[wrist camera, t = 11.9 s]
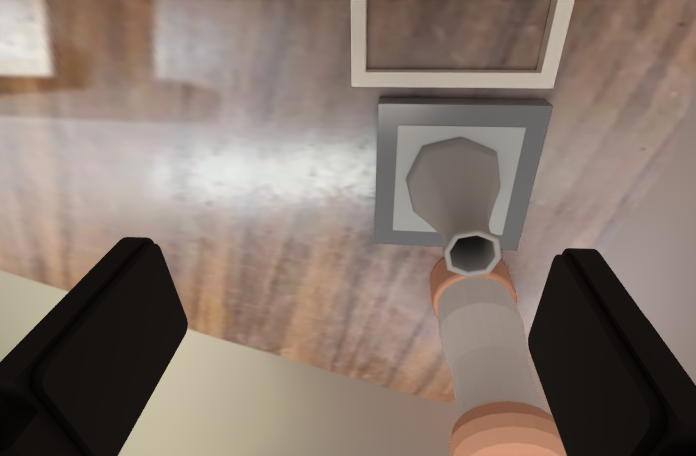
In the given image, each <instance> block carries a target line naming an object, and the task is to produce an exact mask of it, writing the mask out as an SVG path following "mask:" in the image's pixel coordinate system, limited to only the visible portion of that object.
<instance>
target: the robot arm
mask: <svg viewBox="0 0 696 456" xmlns="http://www.w3.org/2000/svg"><path fill="white" fill-rule="evenodd" d="M187 326H188V321H187V318H186V315H185V312H184V310H183V307H182V304H181V302H180V299H179V296H178V294H177V291H176V288H175V286H174V283H173V280H172V278H171V275H170V272H169V270H168V267H167V264H166V262H165V259H164V256H163V254H162V251H161V249H160V247H159V246H158V245H157V244H154V242H153V241H152V240H151V239H150V238H140V237H125V238H122V239H121V240H120V241H119V242H118V243H117V244H116V245H115V246H114V247H113V248H112V249H111V250H110V251H109V252H108V253H107V254H106V255H105V256H104V257H103V258H102V259H101V260H100V261H99V262H98V263H97V264H96V265H95V266H94V267H93V268H92V269H91V270H90V271H89V272H88V273H87V274H86V275H85V276H84V277H83V278H82V279H81V280H80V281H79V282H78V283H77V285H76V286H75V287H74V288H73V289H72V290H71V291H70V292H69V293H68V294H67V295H66V296H65V297H64V298H63V299H62V300H61V301H60V302H59V303H58V304H57V305H56V306H55V307H54V308H53V309H52V310H51V311H50V312H49V313H48V314H47V315H46V316H45V317H44V318H43V319H42V320H41V321H40V322H39V323H38V324H37V325H36V326H35V327H34V329H32V330H31V331H30V332H29V333H28V334H27V335H26V337H24V339H23V340H22V341H20V342H19V344H18V345H17V346H16V347H15V348H14V349H13V350H12V351H11V352H10V353H9V354H8V355H7V356H6V357H5V358H4V359H3V360H2V361H1V362H0V456H118V454H119V452H120V451H121V449H122V447H123V445H124V443H125V442H126V440H127V438H128V436H129V435H130V433H131V431H132V429H133V427H134V425H135V424H136V422H137V420H138V418H139V416H140V415H141V413H142V411H143V409H144V408H145V406H146V404H147V402H148V400H149V399H150V397H151V395H152V393H153V391H154V390H155V388H156V386H157V384H158V382H159V381H160V379H161V377H162V375H163V373H164V371H165V370H166V368H167V366H168V364H169V363H170V361H171V359H172V357H173V356H174V354H175V352H176V350H177V348H178V347H179V345H180V343H181V341H182V339H183V338H184V336H185V334H186V331H187ZM528 346H529V351H530V354H531V357H532V359H533V362H534V365H535V367H536V371H537V373H538V376H539V379H540V382H541V384H542V387H543V390H544V393H545V395H546V399H547V401H548V404H549V407H550V410H551V413H552V415H553V418H554V421H555V424H556V427H557V429H558V432H559V435H560V438H561V441H562V443H563V446H564V449H565V452H566V455H567V456H696V385H695V384H694V383H693V381H692V380H691V378H690V377H689V376H688V375H687V373H686V371H685V370H684V369H683V367H682V366H681V365H680V363H679V362H678V360H677V359H676V358H675V356H674V355H673V353H672V352H671V351H670V349H669V348H668V347H667V345H666V344H665V342H664V341H663V340H662V338H661V337H660V335H659V334H658V333H657V331H656V330H655V328H654V327H653V326H652V324H651V323H650V322H649V320H648V319H647V318H646V317H645V316H644V314H643V313H642V311H641V310H640V309H639V307H638V306H637V304H636V303H635V302H634V300H633V299H632V297H631V296H630V295H629V293H628V292H627V291H626V289H625V288H624V286H623V285H622V283H621V282H620V281H619V279H618V278H617V277H616V275H615V274H614V272H613V271H612V270H611V268H610V267H609V265H608V264H607V263H606V261H605V260H604V258H603V257H602V256H601V254H600V253H599V252H598V251H597V250H595V249H575V248H568V249H565V250H564V251H563V253H562V255H556V256H555V257H554V259H553V262H552V265H551V268H550V271H549V274H548V278H547V281H546V284H545V287H544V290H543V293H542V296H541V299H540V302H539V305H538V308H537V312H536V315H535V318H534V321H533V324H532V327H531V330H530V333H529V337H528Z"/></svg>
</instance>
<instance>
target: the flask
mask: <svg viewBox="0 0 696 456" xmlns="http://www.w3.org/2000/svg"><path fill="white" fill-rule="evenodd" d="M406 183H407V187H408V192H409V196H410V200H411V204H412V208H413V211H414V212H415V213H416V214H417V215H418V216H419V217H421V218H422V219H423V220H424V221H426V222H427V223H428V224H429V225H430V226H431V227H432V228H434V229H435V230H436V231H437V232H438V233H439V234H440V235H441V236H442V238H443V240H444V242H445V244H446V245H445V247H444V249H443V252H444V257H445V261H446V266H447V270H449V271H451V272H454V273H457V274H459V275H462V276H464V277H473V276H480V275H487V274H490V273H491V271H492V270H493V269H494V267H495V266H496V265H497V263H498V262H499V261H500V259H501V258H502V257H501V249H500V241H499V237H498V236H497V235H495V234H493V233H491V232H490V229H489V222H490V218H491V215H492V211H493V208H494V204H495V202H496V199H497V197H498V194H499V191H500V188H501V185H500V176H499V167H498V158H497V152H495V151H493V150H490V149H488V148H485V147H483V146H481V145H478V144H476V143H473V142H471V141H468V140H466V139H464V138H458V139H453V140H449V141H445V142H441V143H436V144H432V145H428V146H424V147H422V148H421V150H420V152H419V154H418V156H417V158H416V160H415V162H414V164H413V166H412V168H411V170H410V172H409V174H408V176H407V178H406Z"/></svg>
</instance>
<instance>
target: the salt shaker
mask: <svg viewBox="0 0 696 456" xmlns="http://www.w3.org/2000/svg"><path fill="white" fill-rule="evenodd" d="M430 287H431V297H432V306H433V309H434V313H435V315H436V316H437V318H438V325H439V336H440V340H441V343H442V346H443V349H444V353H445V356H446V359H447V362H448V365H449V368H450V371H451V374H452V379H453V386H454V393H455V400H456V407H457V413H458V420H457V422H456V423H455V425H454V427H453V430H452V434H451V438H450V443H449V450H450V454H451V456H567V455H566V452H565V449H564V446H563V443H562V441H561V438H560V435H559V432H558V429H557V427H556V424H555V421H554V418H553V416H552V415H550V414H548V413H547V412H545V409H544V406H543V404H542V401H541V397H540V394H539V392H538V389H537V386H536V383H535V380H534V377H533V374H532V371H531V368H530V365H529V358H528V351H527V344H526V337H525V330H524V324H523V321H522V319H521V316H520V314H519V312H518V309H517V307H516V304H517V297H516V291H515V288H514V286H513V283H512V281H511V278H510V275H509V273H508V270H507V268H506V267H505V265H504V263H503V262H502V260H500V261H499V262H498V263H497V265H496V266H495V267H494V269H493V270H492V271H491V273H490V274H487V275H480V276H473V277H464V276H462V275H459V274H457V273H454V272H451V271H449V270H447V266H446V261H445V257H444V258H443V259H442V260H440V261H439V262H438V263H437V264H436V266H435V267H434V269H433V271H432V272H431V278H430Z"/></svg>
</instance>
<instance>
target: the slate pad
mask: <svg viewBox="0 0 696 456" xmlns="http://www.w3.org/2000/svg"><path fill="white" fill-rule="evenodd" d="M552 109H553V106H552V105H551V104H550V103H548V102H547V101H546V100H544V99H482V98H392V97H379V102H378V133H377V173H376V214H375V243H377V244H397V245H417V246H437V247H445V245H446V244H445V242H444V240H443V238H442V236H441V235H440V234H439V233H438V232H437V231H436V230H435V229H434V228H432V227H431V226H430V225H429V224H428V223H427V222H426V221H424V220H423V219H422V218H421V217H419V216H418V215H417V214H416V213H415V212H414V211H413V208H412V204H411V200H410V196H409V192H408V187H407V183H406V178H407V176H408V174H409V172H410V170H411V168H412V166H413V164H414V162H415V160H416V158H417V156H418V154H419V152H420V150H421V148H422V147H424V146H428V145H432V144H436V143H441V142H445V141H449V140H453V139H458V138H464V139H466V140H468V141H471V142H473V143H476V144H478V145H481V146H483V147H485V148H488V149H490V150H493V151H495V152H497V158H498V167H499V176H500V185H501V188H500V191H499V194H498V197H497V199H496V202H495V204H494V208H493V211H492V215H491V218H490V222H489V229H490V232H491V233H493V234H495V235H497V236H498V237H499V241H500V249H501V250H517V248H518V244H519V240H520V236H521V232H522V228H523V224H524V220H525V216H526V212H527V208H528V204H529V200H530V196H531V192H532V188H533V184H534V180H535V176H536V172H537V168H538V164H539V160H540V156H541V152H542V148H543V144H544V141H545V137H546V133H547V129H548V125H549V121H550V117H551V113H552Z"/></svg>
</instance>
